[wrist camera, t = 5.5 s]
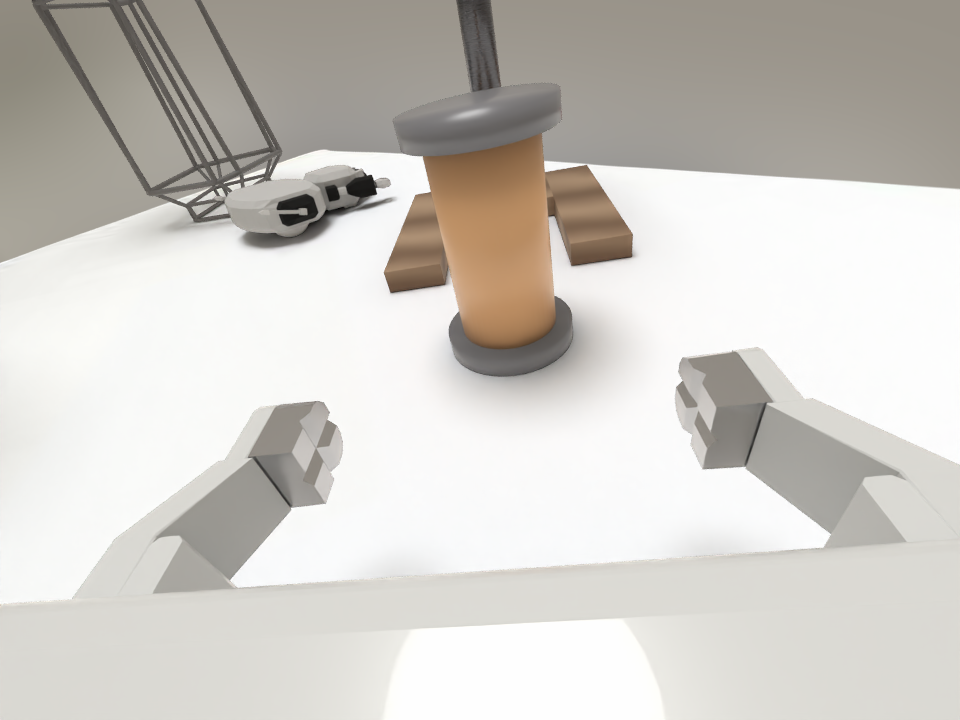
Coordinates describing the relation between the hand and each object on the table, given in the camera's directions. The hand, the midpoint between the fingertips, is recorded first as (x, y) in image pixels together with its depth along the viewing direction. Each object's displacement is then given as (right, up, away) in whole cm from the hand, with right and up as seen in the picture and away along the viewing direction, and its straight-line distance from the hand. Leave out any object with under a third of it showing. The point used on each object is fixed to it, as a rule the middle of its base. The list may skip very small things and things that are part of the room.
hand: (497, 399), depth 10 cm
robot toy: (-18, +16, +37) cm, 44 cm away
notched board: (+2, +11, +25) cm, 27 cm away
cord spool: (+1, +2, +13) cm, 13 cm away
